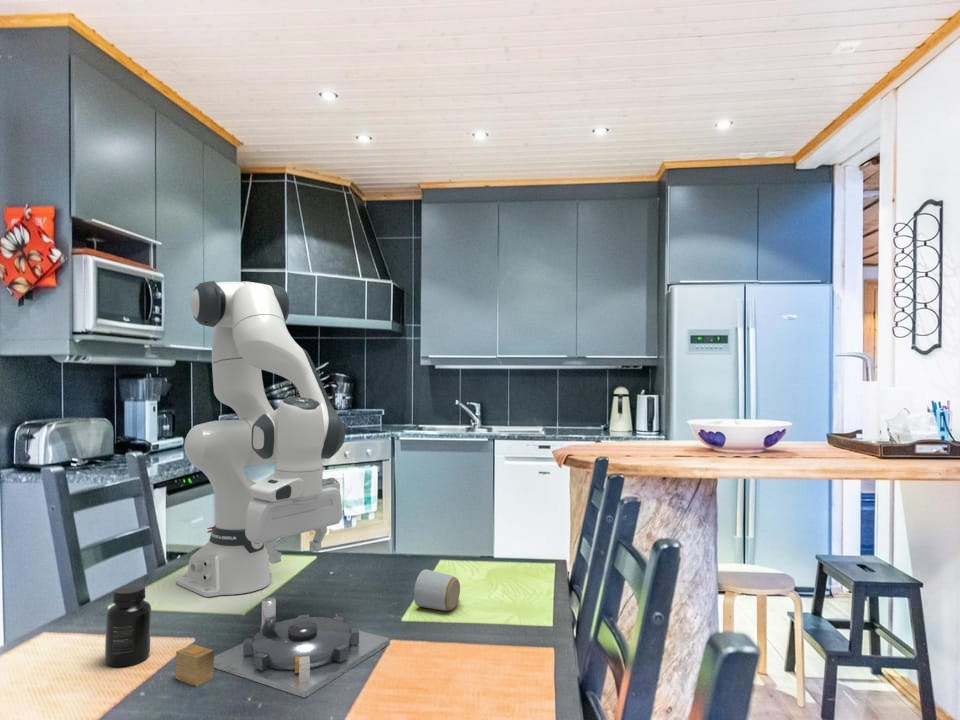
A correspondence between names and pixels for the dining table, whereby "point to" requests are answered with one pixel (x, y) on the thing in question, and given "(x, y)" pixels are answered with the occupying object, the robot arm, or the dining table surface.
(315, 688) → the base plate
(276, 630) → the sprocket
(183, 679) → the tan block
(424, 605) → the ceramic mug
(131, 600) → the supplement bottle
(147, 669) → the dining table surface
